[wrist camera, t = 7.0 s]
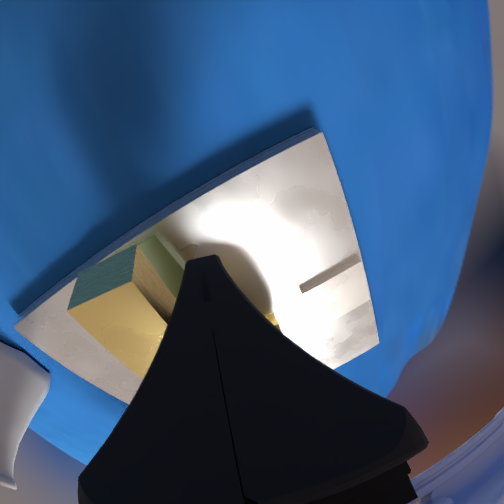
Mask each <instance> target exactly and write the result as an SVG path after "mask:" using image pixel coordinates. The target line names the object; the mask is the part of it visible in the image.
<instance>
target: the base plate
mask: <svg viewBox="0 0 504 504" xmlns="http://www.w3.org/2000/svg"><path fill="white" fill-rule="evenodd" d="M135 244H138V246H139V247H140V249H141V250H142V252H143V253H144V255H145V256H146V258H147V259H148V260H149V262H150V263H151V265H152V266H153V268H154V269H155V271H156V272H157V273H158V275H159V276H160V278H161V279H162V281H163V282H164V283H165V285H166V286H167V288H168V289H169V290H170V292H171V293H172V294H173V296H174V297H175V298H176V299H177V296H178V293H179V289H180V286H181V282H182V278H183V274H184V269H185V264H186V262H187V261H188V260H191V259H196V258H200V257H205V256H209V255H213V254H215V255H217V256H219V258H220V260H221V262H222V264H223V266H224V268H225V269H226V271H227V272H228V274H229V275H230V277H231V278H232V279H233V281H234V282H235V283H236V285H237V286H238V287H239V289H240V290H241V291H242V292H243V293H244V294H245V296H246V297H247V298H248V299H249V300H250V301H251V303H252V304H253V305H254V306H255V307H256V308H257V309H258V310H259V311H260V312H261V313H262V314H263V315H264V316H265V317H266V318H267V319H268V320H269V321H270V322H271V323H272V324H273V325H276V324H279V326H280V329H281V331H282V333H283V334H285V335H286V336H287V337H288V338H289V339H291V340H292V341H293V342H294V343H296V344H297V345H298V346H299V347H301V348H302V349H303V350H305V351H306V352H307V353H309V354H310V355H312V356H313V357H315V358H316V359H318V360H319V361H321V362H322V363H324V364H325V365H327V366H328V367H330V368H331V369H335V368H337V367H339V366H341V365H342V364H344V363H346V362H348V361H350V360H352V359H353V358H355V357H357V356H359V355H360V354H362V353H364V352H366V351H367V350H369V349H371V348H372V347H374V346H376V345H377V344H379V339H378V333H377V327H376V322H375V317H374V311H373V306H372V301H371V297H370V292H369V287H368V283H367V278H366V274H365V270H364V266H363V261H362V257H361V253H360V249H359V246H358V242H357V238H356V234H355V231H354V227H353V223H352V220H351V216H350V213H349V210H348V206H347V203H346V200H345V196H344V193H343V190H342V187H341V184H340V181H339V178H338V175H337V172H336V169H335V166H334V163H333V160H332V157H331V154H330V151H329V148H328V146H327V143H326V140H325V138H324V135H323V132H321V131H319V130H317V129H315V128H313V127H311V128H309V129H307V130H305V131H302V132H300V133H298V134H296V135H294V136H292V137H290V138H288V139H286V140H284V141H282V142H280V143H278V144H276V145H274V146H272V147H270V148H268V149H266V150H265V151H263V152H261V153H259V154H257V155H255V156H253V157H251V158H249V159H247V160H246V161H244V162H242V163H240V164H238V165H236V166H235V167H233V168H231V169H229V170H227V171H226V172H224V173H222V174H220V175H219V176H217V177H215V178H213V179H212V180H210V181H208V182H206V183H205V184H203V185H201V186H200V187H198V188H196V189H194V190H193V191H191V192H189V193H188V194H186V195H184V196H183V197H181V198H180V199H178V200H176V201H175V202H173V203H171V204H170V205H168V206H167V207H165V208H163V209H162V210H160V211H159V212H157V213H156V214H154V215H152V216H151V217H149V218H148V219H146V220H145V221H143V222H142V223H140V224H139V225H137V226H136V227H134V228H133V229H131V230H130V231H128V232H127V233H125V234H124V235H122V236H121V237H119V238H118V239H116V240H115V241H114V242H112V243H111V244H109V245H108V246H106V247H105V248H104V249H102V250H101V251H99V252H98V253H97V254H95V255H94V256H92V257H91V258H90V259H88V260H87V261H86V262H84V263H83V264H82V265H80V266H79V267H77V268H76V269H75V270H74V271H72V272H71V273H70V274H68V275H67V276H66V277H64V278H63V279H62V280H60V281H59V282H58V283H57V284H55V285H54V286H53V287H52V288H50V289H49V290H48V291H47V292H45V293H44V294H43V295H42V296H40V297H39V298H38V299H37V300H36V301H34V302H33V303H32V304H31V305H30V306H28V307H27V308H26V309H25V310H24V311H22V312H21V313H20V314H19V315H18V316H17V319H16V321H15V324H14V327H13V328H14V329H16V330H17V331H18V332H19V333H20V334H22V335H23V336H24V337H25V338H27V339H28V340H29V341H30V342H32V343H33V344H34V345H36V346H37V347H38V348H40V349H41V350H42V351H44V352H45V353H46V354H48V355H49V356H50V357H52V358H53V359H55V360H56V361H57V362H59V363H60V364H62V365H63V366H65V367H66V368H68V369H69V370H71V371H72V372H74V373H75V374H77V375H78V376H80V377H82V378H83V379H85V380H86V381H88V382H90V383H91V384H93V385H95V386H96V387H98V388H100V389H102V390H103V391H105V392H107V393H109V394H110V395H112V396H114V397H116V398H118V399H120V400H121V401H123V402H125V403H127V404H130V402H131V401H132V399H133V397H134V395H135V394H136V392H137V390H138V388H139V386H140V384H141V382H142V380H143V379H142V378H140V377H139V376H138V375H137V374H135V373H134V372H133V371H132V370H130V369H129V368H128V367H127V366H126V365H124V364H123V363H122V362H121V361H120V360H118V359H117V358H116V357H115V356H114V355H113V354H111V353H110V352H109V351H108V350H107V349H106V348H105V347H104V346H102V345H101V344H100V343H99V342H98V341H97V340H96V339H95V338H94V337H93V336H92V335H91V334H90V333H88V332H87V331H86V330H85V329H84V328H83V327H82V326H81V325H80V324H79V323H78V322H77V321H76V320H75V319H74V318H73V317H72V316H71V315H70V314H69V313H68V312H67V308H68V305H69V302H70V298H71V295H72V292H73V289H74V286H75V283H76V280H77V277H78V274H79V273H80V272H82V271H83V270H85V269H87V268H89V267H91V266H93V265H95V264H97V263H99V262H101V261H103V260H105V259H107V258H109V257H111V256H113V255H115V254H117V253H119V252H121V251H123V250H125V249H127V248H129V247H131V246H133V245H135Z"/></svg>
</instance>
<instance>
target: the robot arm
mask: <svg viewBox="0 0 504 504" xmlns="http://www.w3.org/2000/svg"><path fill="white" fill-rule="evenodd" d="M428 443H429V442H428V440H427V438H426V436H425V434H424V432H423V430H422V429H421V427H420V426H419V424H418V423H417V422H416V420H415V419H414V418H413V417H412V415H411V414H410V413H409V412H408V410H407V409H406V408H405V407H404V406H401V405H399V404H397V403H395V402H392V401H390V400H388V399H386V398H384V397H381V396H379V395H377V394H375V393H373V392H371V391H369V390H367V389H365V388H363V387H362V386H360V385H358V384H356V383H354V382H353V381H351V380H349V379H347V378H346V377H344V376H342V375H340V374H339V373H337V372H336V371H334V370H333V369H331V368H330V367H328V366H327V365H325V364H324V363H322V362H321V361H319V360H318V359H316V358H315V357H313V356H312V355H310V354H309V353H307V352H306V351H305V350H303V349H302V348H301V347H299V346H298V345H297V344H296V343H294V342H293V341H292V340H291V339H289V338H288V337H287V336H286V335H285V334H283V333H282V332H281V331H280V330H279V329H278V328H277V327H275V326H274V325H273V324H272V323H271V322H270V321H269V320H268V319H267V318H266V317H265V316H264V315H263V314H262V313H261V312H260V311H259V310H258V309H257V308H256V307H255V306H254V305H253V304H252V303H251V301H250V300H249V299H248V298H247V297H246V296H245V294H244V293H243V292H242V291H241V290H240V289H239V287H238V286H237V285H236V283H235V282H234V281H233V279H232V278H231V277H230V275H229V274H228V272H227V271H226V269H225V268H224V266H223V264H222V262H221V260H220V258H219V256H217V255H215V254H213V255H209V256H205V257H200V258H196V259H191V260H188V261H187V262H186V264H185V269H184V274H183V278H182V282H181V286H180V289H179V293H178V296H177V299H176V302H175V305H174V308H173V311H172V314H171V317H170V320H169V322H168V325H167V327H166V330H165V333H164V335H163V338H162V340H161V343H160V345H159V347H158V350H157V352H156V354H155V356H154V358H153V360H152V363H151V365H150V367H149V369H148V371H147V373H146V375H145V377H144V379H143V380H142V382H141V384H140V386H139V388H138V390H137V392H136V394H135V395H134V397H133V399H132V401H131V402H130V404H129V406H128V407H127V409H126V410H125V412H124V414H123V415H122V417H121V418H120V420H119V421H118V423H117V425H116V426H115V428H114V429H113V431H112V432H111V434H110V435H109V437H108V438H107V440H106V441H105V443H104V444H103V445H102V447H101V448H100V449H99V451H98V452H97V453H96V455H95V456H94V457H93V459H92V460H91V461H90V462H89V464H88V465H87V466H86V468H85V469H84V470H83V472H82V473H81V474H80V476H79V477H78V478H79V479H78V502H79V504H413V503H414V502H416V501H418V500H419V499H421V502H420V503H417V504H504V407H503V409H501V410H500V411H499V412H498V413H497V414H496V415H495V418H494V419H493V420H492V421H491V422H490V423H488V424H487V425H486V426H485V427H484V428H483V429H482V430H480V431H479V432H478V433H477V434H476V435H474V436H473V437H472V438H471V439H469V440H468V441H467V442H466V443H464V444H463V445H462V446H460V447H459V448H458V449H456V450H455V451H454V452H452V453H451V454H450V455H448V456H447V457H445V458H444V459H442V460H441V461H440V462H438V463H436V464H435V465H434V466H432V467H430V468H429V469H427V470H426V471H424V472H422V473H421V474H419V475H417V476H416V477H414V478H412V479H411V480H410V479H409V477H408V475H407V474H409V473H410V472H411V469H410V467H409V465H408V464H407V460H409V459H410V458H412V457H413V456H415V455H416V454H418V453H419V452H421V451H422V450H424V449H425V448H426V447H427V446H428Z"/></svg>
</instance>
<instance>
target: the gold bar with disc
mask: <svg viewBox="0 0 504 504" xmlns="http://www.w3.org/2000/svg"><path fill="white" fill-rule="evenodd" d="M175 302H176V298H175V297H174V296H173V294H172V293H171V292H170V290H169V289H168V288H167V286H166V285H165V283H164V282H163V281H162V279H161V278H160V276H159V275H158V273H157V272H156V271H155V269H154V268H153V266H152V265H151V263H150V262H149V260H148V259H147V258H146V256H145V255H144V253H143V252H142V250H141V249H140V247H139V246H138V244H135V245H133V246H131V247H129V248H127V249H125V250H123V251H121V252H119V253H117V254H115V255H113V256H111V257H109V258H107V259H105V260H103V261H101V262H99V263H97V264H95V265H93V266H91V267H89V268H87V269H85V270H83V271H82V272H80V273H79V274H78V277H77V280H76V283H75V286H74V289H73V292H72V295H71V298H70V302H69V305H68V308H67V312H68V313H69V314H70V315H71V316H72V317H73V318H74V319H75V320H76V321H77V322H78V323H79V324H80V325H81V326H82V327H83V328H84V329H85V330H86V331H87V332H88V333H90V334H91V335H92V336H93V337H94V338H95V339H96V340H97V341H98V342H99V343H100V344H101V345H102V346H104V347H105V348H106V349H107V350H108V351H109V352H110V353H111V354H113V355H114V356H115V357H116V358H117V359H118V360H120V361H121V362H122V363H123V364H124V365H126V366H127V367H128V368H129V369H130V370H132V371H133V372H134V373H135V374H137V375H138V376H139V377H140V378H142V379H144V377H145V375H146V373H147V371H148V369H149V367H150V365H151V363H152V360H153V358H154V356H155V354H156V352H157V350H158V347H159V345H160V343H161V340H162V338H163V335H164V333H165V330H166V327H167V325H168V322H169V320H170V317H171V314H172V311H173V308H174V305H175ZM274 326H275V327H277V328H278V329H279V330H280V331H281V329H280V326H279V324H276V325H274ZM281 332H282V331H281Z"/></svg>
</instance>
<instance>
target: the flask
mask: <svg viewBox="0 0 504 504" xmlns="http://www.w3.org/2000/svg"><path fill="white" fill-rule="evenodd" d="M50 380H51V375H50V374H49V373H48V372H47V371H45V370H44V369H43V368H42V367H40V366H39V365H38V364H37V363H36V362H34V361H33V360H32V359H31V358H30V357H29V356H27V355H26V354H25V353H23V352H21V351H19V350H16V349H14V348H12V347H10V346H8V345H5V344H3V343H1V342H0V485H2V486H5V487H8V488H11V489H15V490H16V489H17V486H16V483H15V481H13V466H14V460H15V457H16V453H17V449H18V446H19V443H20V441H21V439H22V437H23V435H24V433H25V431H26V429H27V427H28V425H29V423H30V421H31V420H32V418H33V416H34V414H35V413H36V411H37V410H38V408H39V406H40V405H41V403H42V402H43V400H44V398H45V397H46V395H47V393H48V391H49V388H50Z"/></svg>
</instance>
